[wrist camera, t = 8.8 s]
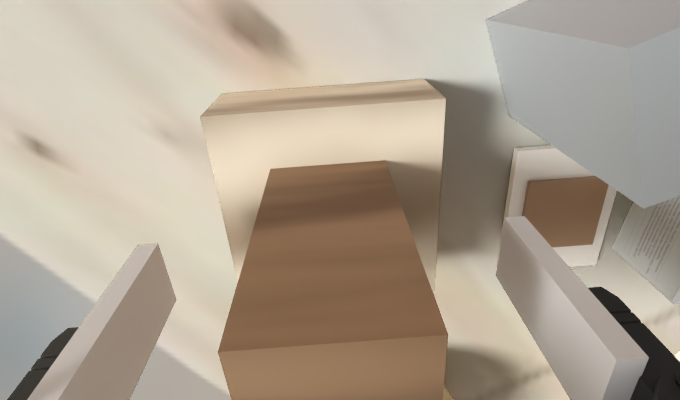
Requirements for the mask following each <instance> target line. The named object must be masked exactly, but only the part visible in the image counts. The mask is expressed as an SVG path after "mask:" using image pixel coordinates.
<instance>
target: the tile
mask: <svg viewBox="0 0 680 400" xmlns="http://www.w3.org/2000/svg"><path fill="white" fill-rule="evenodd" d="M616 193H617V190H616V189H614V188H613V187H611V186H610V185H608V184H607V183H605V182H604V181H603V180H601V179H600V178H598V177H597V176H595V175H594V174H592V173H591V172H590V171H588V170H587V169H585V168H584V167H582V166H581V165H579V164H578V163H577V162H575V161H574V160H572V159H571V158H569V157H568V156H566V155H565V154H564V153H562V152H561V151H559V150H558V149H556V148H555V147H553V146H552V145H546V146H532V147H518V148H514V151H513V158H512V165H511V172H510V179H509V186H508V193H507V200H506V206H505V213H504V218H506V217H519V216H525V217H526V218H527V220H528V221H529V222H530V223H531V224H532V225H533V226H534V227H535V229H536V230H537V231H538V232H539V233H540V234H541V235H542V237H543V238H544V239H545V240H546V241H547V242H548V243H549V245H550V246H551V247H552V248H553V249H554V250H555V251H556V252H557V254H558V255H559V256H560V257H561V258H562V259H563V260H564V262H565V263H566V264H567V265H568V266H569V267H575V266H588V265H596V263H597V259H598V256H599V252H600V249H601V245H602V242H603V238H604V235H605V231H606V228H607V224H608V221H609V217H610V214H611V210H612V207H613V203H614V200H615V196H616ZM503 223H504V220H503ZM502 230H503V227H502ZM501 237H502V234H501ZM500 244H501V241H500ZM499 251H500V248H499ZM498 258H499V255H498ZM497 265H498V262H497Z"/></svg>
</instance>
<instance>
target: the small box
mask: <svg viewBox="0 0 680 400" xmlns="http://www.w3.org/2000/svg"><path fill="white" fill-rule="evenodd" d="M612 249H613V250H614V251H615V252H616V253H617V254H618V255H619V256H620V257H621V258H622V259H623V260H625V261H626V262H627V263H628V264H629V265H630V266H631V267H632V268H634V269H635V270H636V271H637V272H638V273H639V274H640V275H641V276H643V277H644V278H645V279H646V280H647V281H648V282H649V283H651V284H652V285H653V286H654V287H655V288H656V289H657V290H658V291H660V292H661V293H662V294H663V295H664V296H665V297H666V298H667V299H668V300H669V301H670V302H671V303H673V304H680V196H677V197H674V198H672V199H669V200H666V201H663V202H660V203H658V204H655V205H652V206H649V207H646V208H644V209H643V208H642V207H640V206H639V205H637V204H636V203H634V202H633V203H632V205H631V208H630V210H629V212H628V214H627V216H626V218H625V221H624V223H623V225H622V227H621V229H620V232H619V234H618V236H617V238H616V240H615V242H614V245H613V247H612Z"/></svg>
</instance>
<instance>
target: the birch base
mask: <svg viewBox="0 0 680 400" xmlns="http://www.w3.org/2000/svg"><path fill="white" fill-rule="evenodd" d="M445 106H446V98H445V97H444V96H442V95H441V94H440V93H439V92H438V91H437V90H436V89H435V88H434V87H433V86H431V85H430V84H429V83H428V82H427V81H426V80H425V79H415V80H402V81H388V82H374V83H361V84H347V85H333V86H320V87H306V88H292V89H278V90H265V91H251V92H237V93H224V94H221V95H220V96H219V97H218V98H217V99H216V100H215V101H214V102H213V103H212V104H211V106H210V107H209V108H208V109H207V110H206V111H205V112H204V113H203V114H202V115H201V116H200V119H201V123H202V127H203V132H204V136H205V141H206V145H207V149H208V154H209V158H210V162H211V167H212V171H213V175H214V180H215V184H216V189H217V193H218V197H219V202H220V206H221V210H222V215H223V219H224V223H225V228H226V232H227V237H228V241H229V245H230V250H231V254H232V258H233V263H234V267H235V272H236V276H237V280H239V277H240V273H241V270H242V266H243V263H244V259H245V256H246V252H247V249H248V245H249V242H250V238H251V235H252V231H253V228H254V224H255V221H256V217H257V214H258V210H259V207H260V203H261V200H262V196H263V193H264V189H265V186H266V182H267V179H268V175H269V172H270V169H274V168H288V167H301V166H315V165H328V164H342V163H355V162H369V161H382V160H385V161H386V164H387V167H388V170H389V172H390V175H391V178H392V181H393V184H394V186H395V189H396V192H397V195H398V197H399V200H400V203H401V206H402V208H403V211H404V214H405V217H406V220H407V222H408V225H409V228H410V231H411V233H412V236H413V239H414V242H415V244H416V247H417V250H418V253H419V256H420V258H421V261H422V264H423V267H424V269H425V272H426V275H427V278H428V280H429V283H430V286H431V289H432V291H433V290H435V278H436V261H437V244H438V226H439V209H440V192H441V175H442V158H443V140H444V123H445Z"/></svg>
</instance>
